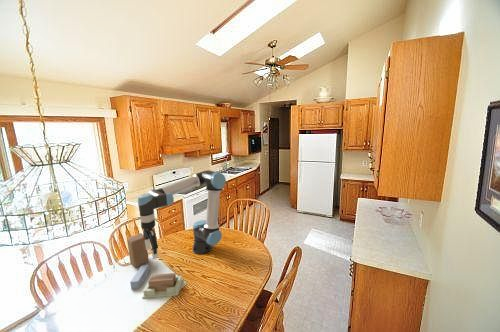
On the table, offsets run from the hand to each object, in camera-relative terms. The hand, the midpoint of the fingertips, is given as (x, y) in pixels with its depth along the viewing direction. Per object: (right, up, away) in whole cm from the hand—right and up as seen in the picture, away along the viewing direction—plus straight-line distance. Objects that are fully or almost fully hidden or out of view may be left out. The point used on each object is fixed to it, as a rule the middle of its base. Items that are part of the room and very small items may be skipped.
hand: (151, 253), depth 125 cm
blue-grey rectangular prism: (-12, -21, +10) cm, 26 cm away
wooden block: (-22, -18, +28) cm, 40 cm away
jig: (+7, -22, +1) cm, 23 cm away
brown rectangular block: (+7, -21, +1) cm, 22 cm away
